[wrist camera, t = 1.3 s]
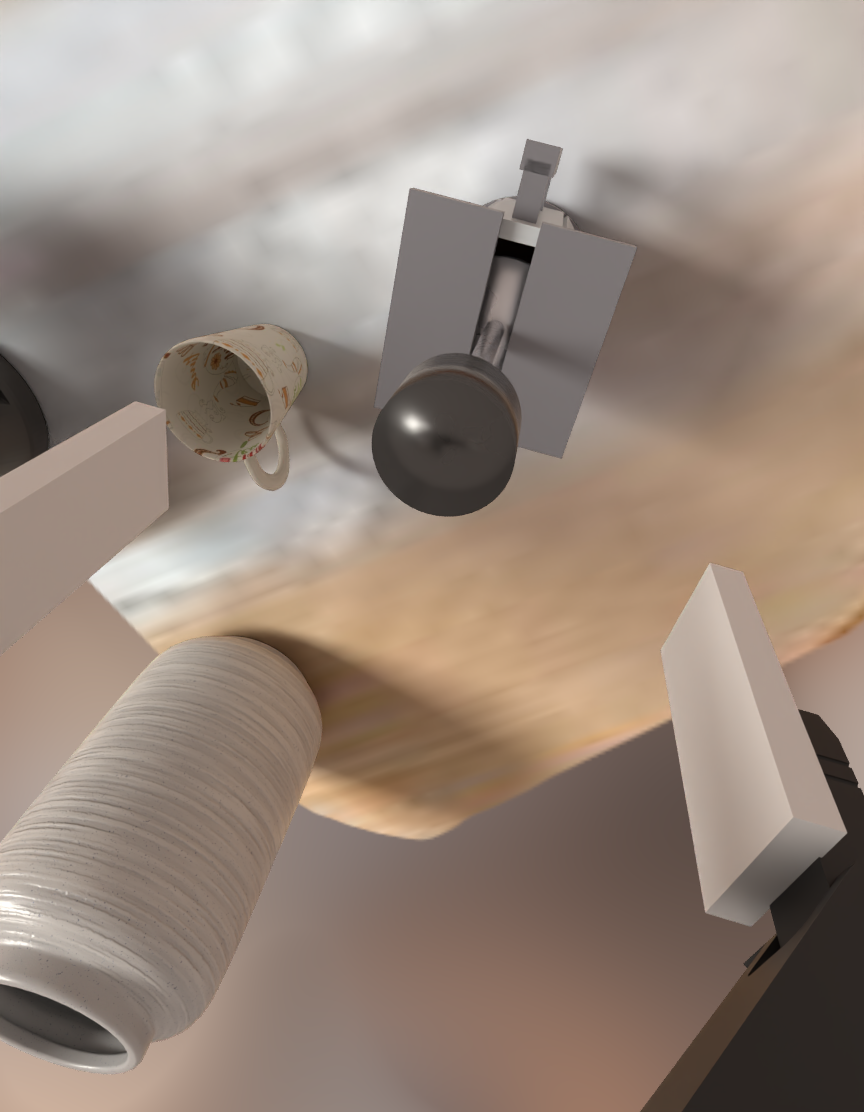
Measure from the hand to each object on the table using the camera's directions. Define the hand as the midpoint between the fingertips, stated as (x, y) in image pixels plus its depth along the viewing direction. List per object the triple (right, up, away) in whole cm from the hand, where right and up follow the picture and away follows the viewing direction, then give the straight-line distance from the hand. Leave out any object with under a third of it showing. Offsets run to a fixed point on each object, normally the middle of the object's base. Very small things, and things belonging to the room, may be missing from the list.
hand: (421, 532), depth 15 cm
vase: (-20, -15, +56) cm, 61 cm away
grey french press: (+6, +19, +28) cm, 34 cm away
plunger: (+4, +11, +18) cm, 22 cm away
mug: (-12, +13, +36) cm, 40 cm away
